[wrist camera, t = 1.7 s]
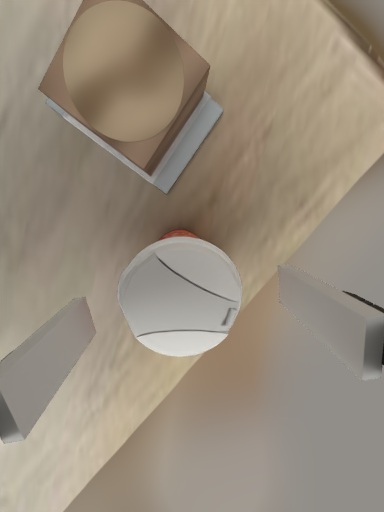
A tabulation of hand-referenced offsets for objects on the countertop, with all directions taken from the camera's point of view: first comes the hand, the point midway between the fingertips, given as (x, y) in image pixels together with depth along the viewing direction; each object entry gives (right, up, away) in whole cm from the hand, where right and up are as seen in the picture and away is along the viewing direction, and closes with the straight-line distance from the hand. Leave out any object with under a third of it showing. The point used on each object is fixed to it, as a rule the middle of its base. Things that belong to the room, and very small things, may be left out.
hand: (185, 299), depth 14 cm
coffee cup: (-1, +4, +13) cm, 14 cm away
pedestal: (-5, +19, +8) cm, 21 cm away
